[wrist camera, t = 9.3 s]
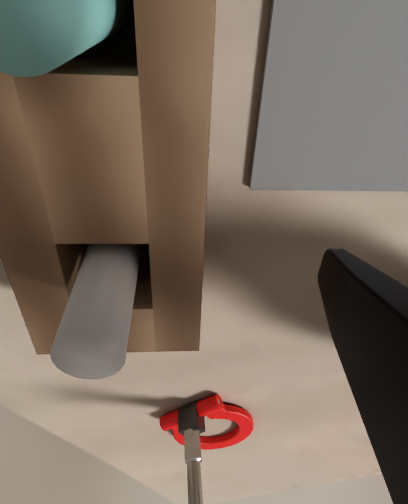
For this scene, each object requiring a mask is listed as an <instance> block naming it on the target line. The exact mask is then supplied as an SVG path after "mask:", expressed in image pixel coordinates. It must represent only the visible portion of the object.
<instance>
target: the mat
mask: <svg viewBox="0 0 408 504" xmlns="http://www.w3.org/2000/svg"><path fill="white" fill-rule="evenodd" d="M249 188H250V190H337V191H408V0H272V6H271V14H270V22H269V30H268V38H267V46H266V54H265V62H264V70H263V78H262V86H261V94H260V102H259V110H258V119H257V127H256V135H255V143H254V151H253V159H252V167H251V175H250V183H249Z"/></svg>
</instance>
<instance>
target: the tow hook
mask: <svg viewBox="0 0 408 504" xmlns="http://www.w3.org/2000/svg"><path fill="white" fill-rule="evenodd" d="M205 415H206V416H207V417H209V418H210V419H215V418H216V419H229V420H232V421H234V422H236V423H237V424H238V426H237V427H236V428H235V429H234V430H233V431H231V432H229V433H227V434H224V435H221V436H215V437H202V436H200V433H202V432H205V421H204V416H205ZM160 426H161V428H162V429H163V430H164V431H166V430H169V429H171V430H173V436H174V439H175V440H176V441H177V442H178V443H180V444H182V445H184V446H185V463H186V464H187V480H188V504H203V497H202V482H201V467H200V463H201V462H202V459H201V449H218V448H223V447H228V446H231V445H234V444H236V443H239V442H240V441H242V440H244V439H245V438H247V437H248V436H249V435H250V434H251V432H252V430H253V420H252V417H251V415H250V413H248V412H247V411H246V410H244V409H242V408H239V407H236V406H232V405H225V404H224V403H222V400H221V397H220V396H219V395H218V394H216V395H213V396H211V397H209V398H206V399H204V400H201V401H199V402H198V401H196V402H193V403H191V404H188V405H186V406H183V407H181V408H179V410H176V411H174V412H171V413H169V414H166V415H164V416H162V417H161V418H160Z"/></svg>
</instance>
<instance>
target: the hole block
mask: <svg viewBox="0 0 408 504" xmlns="http://www.w3.org/2000/svg"><path fill="white" fill-rule="evenodd" d="M133 2H134V18H135V34H136V50H137V57H122V56H94V55H77V56H75V57H74V58H72V59H70V60H69V61H67V62H65V63H64V64H62V65H60V66H59V67H57V68H55V69H54V70H52V71H50V72H48V73H45V74H43V75H39V76H34V77H20V76H13V75H9V74H5V73H3V72H0V256H1V259H2V262H3V264H4V267H5V270H6V272H7V275H8V278H9V280H10V283H11V286H12V289H13V291H14V294H15V297H16V299H17V302H18V305H19V308H20V310H21V313H22V316H23V318H24V321H25V324H26V326H27V329H28V332H29V335H30V337H31V340H32V343H33V345H34V348H35V351H36V353H37V354H50V350H51V347H52V344H53V342H54V339H55V336H56V333H57V330H58V328H59V325H60V322H61V319H62V317H63V314H64V311H65V308H66V305H67V303H68V300H69V297H70V294H71V292H72V289H73V286H74V283H75V280H76V278H77V275H78V272H79V269H80V267H81V264H82V261H83V258H84V255H85V253H86V250H87V247H88V245H87V244H149V256H150V257H140V262H139V269H138V275H137V282H136V289H135V296H134V303H133V310H132V317H131V324H130V331H129V338H128V345H127V352H161V351H199V342H200V322H201V301H202V280H203V260H204V239H205V219H206V198H207V178H208V157H209V136H210V116H211V95H212V75H213V54H214V34H215V13H216V0H133Z"/></svg>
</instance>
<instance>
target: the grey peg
mask: <svg viewBox="0 0 408 504" xmlns="http://www.w3.org/2000/svg"><path fill="white" fill-rule="evenodd" d="M141 248H142V244H88V247H87V250H86V253H85V255H84V258H83V261H82V264H81V267H80V269H79V272H78V275H77V278H76V280H75V283H74V286H73V289H72V292H71V294H70V297H69V300H68V303H67V305H66V308H65V311H64V314H63V317H62V319H61V322H60V325H59V328H58V330H57V333H56V336H55V339H54V342H53V344H52V347H51V350H50V356H51V360H52V362H53V363H54V364H55V366H56V367H57V368H59V369H60V370H61V371H63V372H65V373H66V374H69V375H71V376H74V377H78V378H83V379H101V378H105V377H109V376H111V375H114V374H115V373H117V372H118V371H119V370H120V369H121V368H122V367H123V366H124V363H125V358H126V352H127V345H128V338H129V331H130V324H131V317H132V310H133V303H134V296H135V289H136V282H137V275H138V269H139V262H140V255H141Z"/></svg>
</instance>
